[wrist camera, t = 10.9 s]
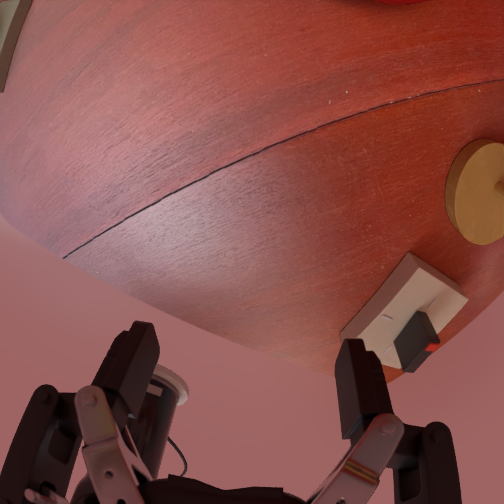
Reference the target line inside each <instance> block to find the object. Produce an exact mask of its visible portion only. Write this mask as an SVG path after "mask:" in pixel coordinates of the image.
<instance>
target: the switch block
mask: <svg viewBox="0 0 504 504" xmlns="http://www.w3.org/2000/svg"><path fill="white" fill-rule="evenodd" d="M31 3H32V0H10V1H5V2H0V93H1V92H3V90H4V86H5V81H6V77H7V73H8V69H9V65H10V61H11V58H12V55H13V51H14V48H15V45H16V42H17V39H18V36H19V33H20V30H21V28H22V25H23V22H24V20H25V17H26V15H27V12H28V10H29V8H30V5H31Z"/></svg>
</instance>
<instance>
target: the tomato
mask: <svg viewBox="0 0 504 504" xmlns="http://www.w3.org/2000/svg"><path fill="white" fill-rule="evenodd" d="M373 1H377V2H381V3H385V4H408V5H409V4H415V3H421V2H426V1H430V0H373Z"/></svg>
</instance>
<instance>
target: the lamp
mask: <svg viewBox="0 0 504 504" xmlns="http://www.w3.org/2000/svg"><path fill="white" fill-rule="evenodd" d="M445 203H446V209H447V214H448V216H449V219H450V221H451V223H452V224H453V226H454V227H455V228H456V229H457V230H458V231H459V232H460V233H461V234H462V235H463V236H464V237H465V238H466V239H467V240H468V241H470V242H472V243H474V244H478V245H485V244H490V243H493V242H495V241H497V240H498V239H500V238H501V237H502V236H504V144H501V143H499V142H496V141H493V140H491V139H479V140H475V141H473V142H471V143H470V144H468V145H467V146H466V147H464V148H463V149H462V150H461V152H460V153H459V154H458V155H457V157H456V159H455V160H454V162H453V164H452V166H451V169H450V171H449V174H448V178H447V182H446V189H445Z"/></svg>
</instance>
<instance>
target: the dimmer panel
mask: <svg viewBox="0 0 504 504" xmlns="http://www.w3.org/2000/svg"><path fill="white" fill-rule="evenodd" d="M468 300H469V299H468V298H467V296H466V295H465V293H464V292H463V290H462V289H461V287H460V286H459V285H458V284H457V283H455V282H454V281H453V280H451V279H450V278H448V277H447V276H445V275H444V274H442V273H441V272H439V271H438V270H436V269H435V268H433V267H432V266H430V265H429V264H427V263H426V262H424V261H423V260H421V259H420V258H418V257H417V256H415V255H414V254H412V253H410V252H408V253H407V254H406V256H405V257H404V258H403V260H402V261H401V262H400V263H399V265H398V266H397V267H396V269H395V270H394V271H393V272H392V274H391V275H390V276H389V277H388V279H387V280H386V281H385V282H384V283H383V285H382V286H381V287H380V288H379V290H378V291H377V292H376V293H375V294H374V295H373V297H372V298H371V299H370V300H369V301H368V302H367V304H366V305H365V306H364V307H363V308H362V309H361V310H360V312H359V313H358V314H357V315H356V316H355V317H354V318H353V319H352V320H351V322H350V323H349V324H348V325H347V326H346V327H345V328H344V329H343V330H342V331H341V332H340V339H341V345H342V343H343V340H344V339H345V338H362V339H363V341H364V344H365V348H366V351H374V352H375V354H376V355H377V356H378V358H379V359H380V361H381V364H384V365H387V366H390V367H394V368H397V369H400V368H401V364H400V361H399V358H398V355H397V352H396V349H395V346H394V343H393V342H394V340H395V339H396V338H397V336H398V335H399V334H400V332H401V331H402V330H403V328H404V327H405V326H406V324H407V323H408V322H409V320H410V319H411V317H412V316H413V315H414V313H415V312H416V311H421V312H425V313H427V315H428V317H429V319H430V321H431V323H432V325H433V327H434V329H435V331H436V333H437V334H438V333H439V332H440V331H441V330H442V329H443V328H444V327H445V325H446V324H447V323H448V322H449V321H450V320H451V319H452V318H453V317H454V316H455V315H456V314H457V313H458V312H459V310H460V309H461V308H462V307H463V306H464V305H465V304H466V302H467V301H468Z"/></svg>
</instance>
